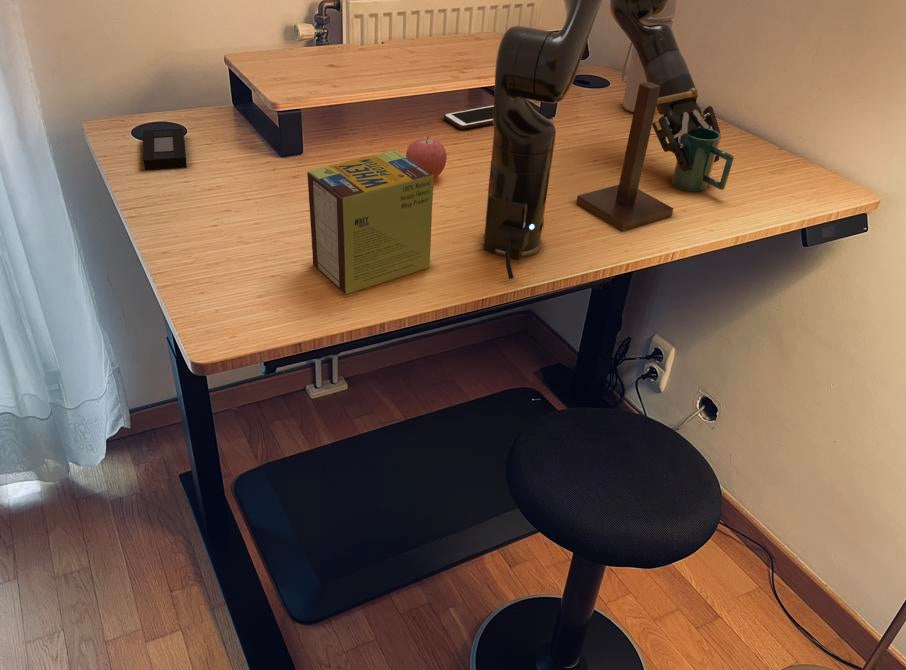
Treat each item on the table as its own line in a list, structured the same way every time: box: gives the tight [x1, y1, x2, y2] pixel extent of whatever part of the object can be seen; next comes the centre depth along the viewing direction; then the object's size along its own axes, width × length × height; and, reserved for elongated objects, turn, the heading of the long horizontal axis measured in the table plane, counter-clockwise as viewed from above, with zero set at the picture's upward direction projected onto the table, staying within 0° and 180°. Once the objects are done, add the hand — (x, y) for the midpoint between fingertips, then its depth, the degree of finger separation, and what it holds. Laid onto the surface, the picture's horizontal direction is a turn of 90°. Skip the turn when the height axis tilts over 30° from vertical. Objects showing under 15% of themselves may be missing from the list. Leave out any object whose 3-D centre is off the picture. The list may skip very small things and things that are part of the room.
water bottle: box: [621, 0, 677, 114], centre depth 174 cm, size 9×8×25 cm
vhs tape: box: [142, 128, 188, 171], centre depth 151 cm, size 8×14×2 cm, turn 16°
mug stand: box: [575, 82, 699, 232], centre depth 135 cm, size 18×12×22 cm
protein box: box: [306, 149, 435, 295], centre depth 117 cm, size 10×15×16 cm
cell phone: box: [443, 104, 494, 130], centre depth 172 cm, size 8×15×1 cm, turn 121°
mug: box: [671, 127, 735, 193], centre depth 146 cm, size 11×6×10 cm, turn 33°
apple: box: [405, 135, 448, 179], centre depth 145 cm, size 7×7×8 cm
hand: (701, 165), depth 146 cm, fingers closed on mug, 6 cm apart
